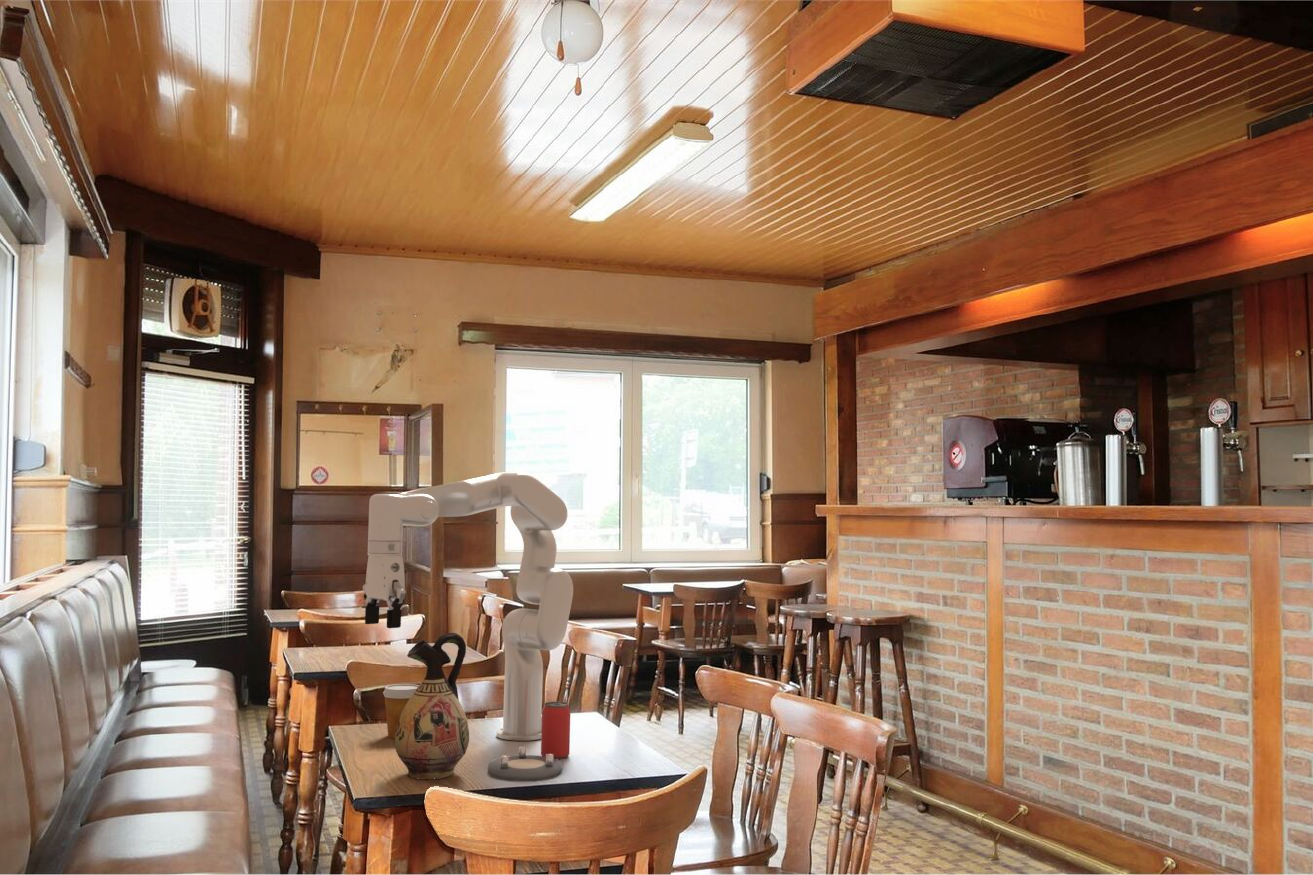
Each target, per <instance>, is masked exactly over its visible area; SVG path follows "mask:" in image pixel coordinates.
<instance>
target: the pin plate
mask: <svg viewBox="0 0 1313 875" xmlns="http://www.w3.org/2000/svg"><path fill="white" fill-rule="evenodd" d="M562 773H563V762H562V761H561V760H560V759H554V758H553V767H546V757H544V756H542V755H527V754H526V758H525V759H519V755H511V756H509V755H508V769H501V757H499V758H495V759H492V760H491V761H489V762H488V763H487V774H488V775H490V776H491V777H493V778H496V779H501V780H505V781H518V782H520V781H521V782H523V781H525V782H526V781H527V782H529V781H539V780H540V781H541V780H546V779H552V778H554V777H557V776H559V775H562Z"/></svg>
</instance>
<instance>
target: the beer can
mask: <svg viewBox="0 0 1313 875" xmlns="http://www.w3.org/2000/svg"><path fill="white" fill-rule="evenodd" d="M541 716H542V732H541V739H540V742H541V743H540V756H544V757H546V754H553V758H554V759H557V760H561V759H560V758H562V759H565V757H566V758H567V757H569V756H570V746H571V745H570V743H571V742H570V741H571V740H570V739H571V738H570V737H571V710H570V707H569V703H568V702H566V701H565V702H564V701H547V702H545V703H544V707H543V709H542V713H541Z"/></svg>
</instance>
